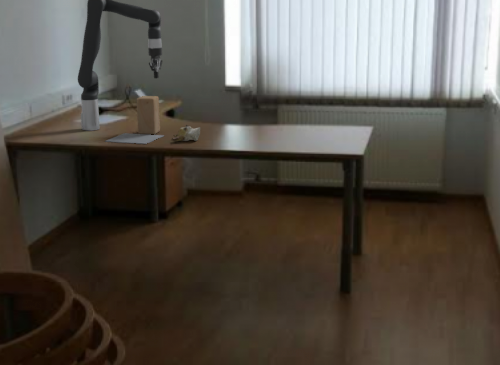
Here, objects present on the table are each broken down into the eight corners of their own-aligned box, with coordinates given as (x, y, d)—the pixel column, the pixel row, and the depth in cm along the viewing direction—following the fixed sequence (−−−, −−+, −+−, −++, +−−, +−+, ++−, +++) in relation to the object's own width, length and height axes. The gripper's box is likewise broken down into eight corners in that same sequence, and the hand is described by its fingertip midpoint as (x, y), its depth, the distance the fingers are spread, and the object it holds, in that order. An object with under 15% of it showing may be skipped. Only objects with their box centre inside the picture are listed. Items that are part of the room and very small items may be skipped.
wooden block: (155, 134, 428) (153, 98, 423) (137, 134, 430) (135, 98, 425) (160, 131, 438) (159, 95, 433) (143, 131, 440) (141, 95, 435)
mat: (104, 141, 412) (104, 140, 412) (124, 133, 432) (124, 133, 432) (146, 144, 405) (145, 143, 405) (164, 136, 425) (164, 135, 425)
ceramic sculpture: (199, 125, 405) (170, 128, 405) (200, 142, 407) (172, 144, 407) (200, 122, 415) (172, 124, 416) (202, 138, 417) (174, 140, 418)
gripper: (154, 45, 440) (155, 76, 445) (143, 47, 428) (145, 79, 433) (166, 46, 438) (167, 77, 442) (155, 48, 426) (157, 79, 430)
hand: (156, 78), depth 438 cm, fingers closed
